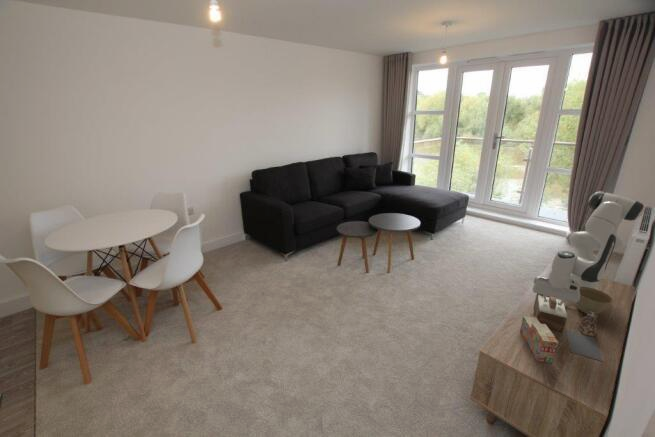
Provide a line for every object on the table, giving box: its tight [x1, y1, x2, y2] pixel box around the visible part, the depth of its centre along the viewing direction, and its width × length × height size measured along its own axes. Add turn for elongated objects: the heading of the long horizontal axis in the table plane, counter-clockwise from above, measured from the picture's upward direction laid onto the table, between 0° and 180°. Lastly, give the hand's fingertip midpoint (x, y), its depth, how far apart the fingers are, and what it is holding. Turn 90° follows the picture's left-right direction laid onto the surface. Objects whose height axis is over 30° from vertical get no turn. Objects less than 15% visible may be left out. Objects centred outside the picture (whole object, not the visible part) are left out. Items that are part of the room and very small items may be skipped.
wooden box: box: [533, 293, 568, 334], centre depth 166 cm, size 19×12×10 cm, turn 149°
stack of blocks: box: [519, 315, 559, 364], centre depth 147 cm, size 21×6×12 cm, turn 168°
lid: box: [538, 295, 568, 318], centre depth 163 cm, size 15×11×4 cm
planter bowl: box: [575, 287, 613, 316], centre depth 173 cm, size 16×16×11 cm
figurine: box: [577, 310, 599, 336], centre depth 157 cm, size 7×7×12 cm
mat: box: [565, 330, 604, 362], centre depth 149 cm, size 17×12×1 cm
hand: (552, 303), depth 163 cm, fingers open, 5 cm apart
